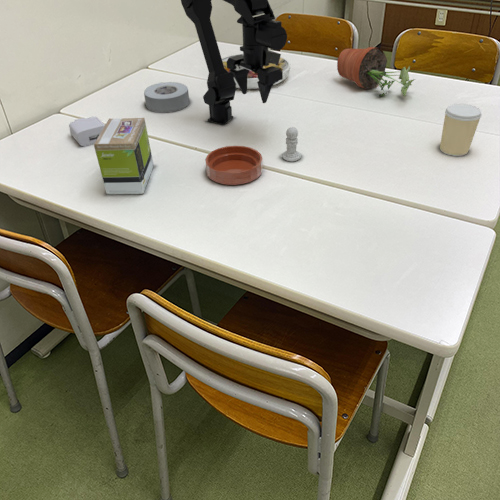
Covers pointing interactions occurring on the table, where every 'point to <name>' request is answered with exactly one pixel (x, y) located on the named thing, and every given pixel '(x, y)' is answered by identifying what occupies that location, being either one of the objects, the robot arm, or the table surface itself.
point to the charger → (86, 130)
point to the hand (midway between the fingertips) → (254, 98)
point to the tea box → (124, 155)
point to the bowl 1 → (253, 76)
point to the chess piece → (291, 145)
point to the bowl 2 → (234, 165)
